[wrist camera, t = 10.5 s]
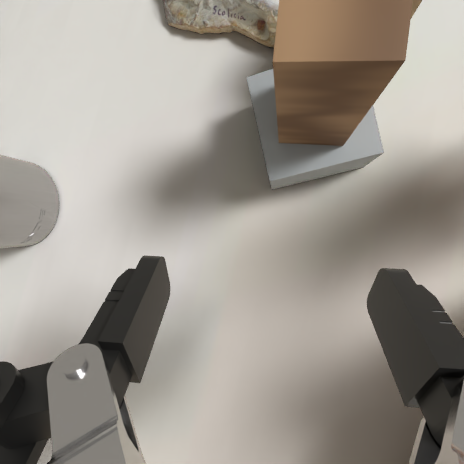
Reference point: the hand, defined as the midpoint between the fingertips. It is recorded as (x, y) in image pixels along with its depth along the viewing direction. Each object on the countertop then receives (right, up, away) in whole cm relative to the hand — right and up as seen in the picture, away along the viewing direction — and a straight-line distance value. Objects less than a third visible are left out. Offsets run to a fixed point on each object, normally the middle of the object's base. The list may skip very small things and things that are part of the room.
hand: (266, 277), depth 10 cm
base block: (+5, +10, +14) cm, 18 cm away
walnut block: (+5, +10, +9) cm, 14 cm away
